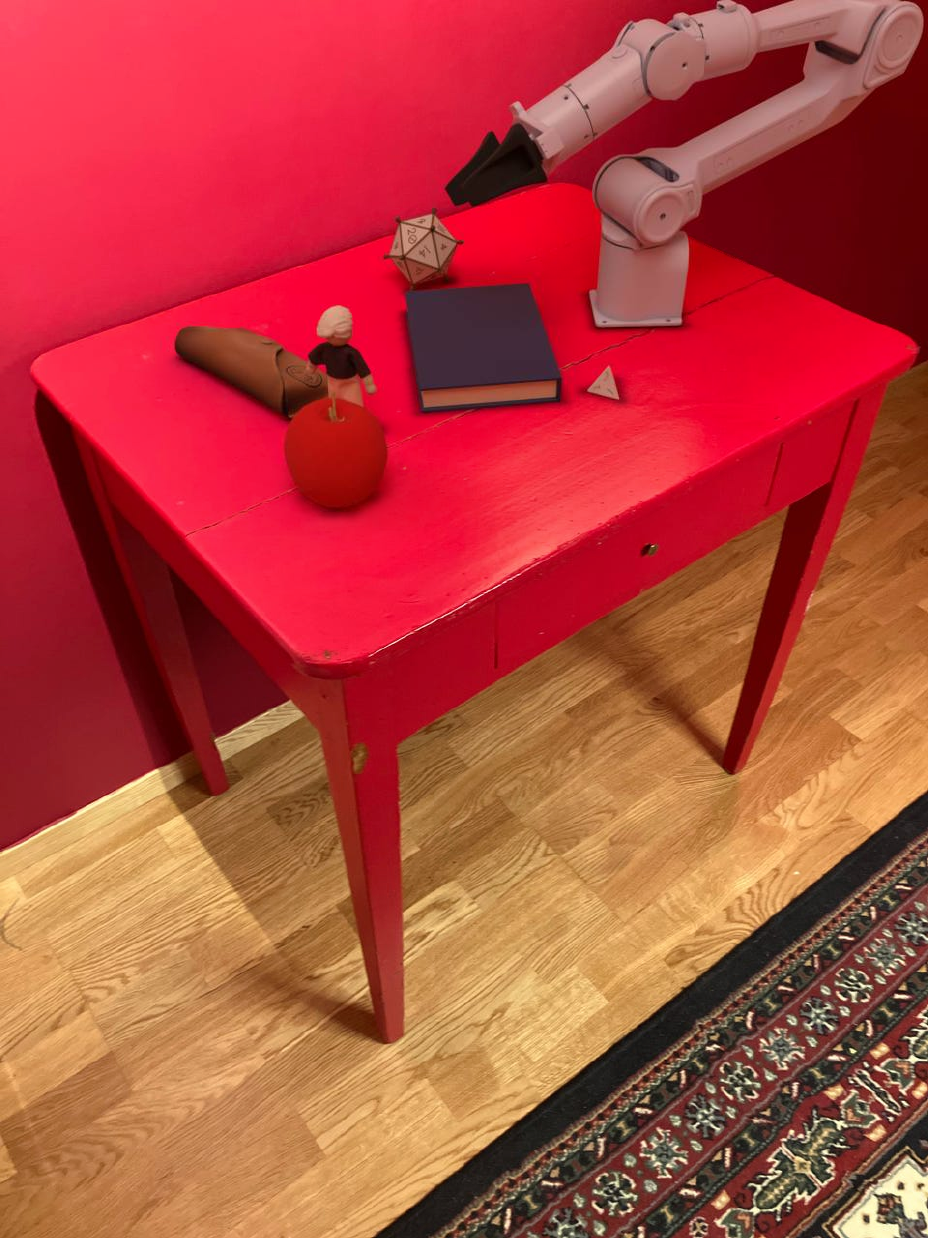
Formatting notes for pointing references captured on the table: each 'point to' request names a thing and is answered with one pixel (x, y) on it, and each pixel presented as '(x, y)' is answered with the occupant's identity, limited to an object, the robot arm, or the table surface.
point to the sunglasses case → (253, 366)
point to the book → (480, 348)
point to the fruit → (335, 452)
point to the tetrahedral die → (605, 385)
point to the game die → (423, 249)
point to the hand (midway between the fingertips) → (457, 197)
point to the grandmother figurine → (340, 357)
